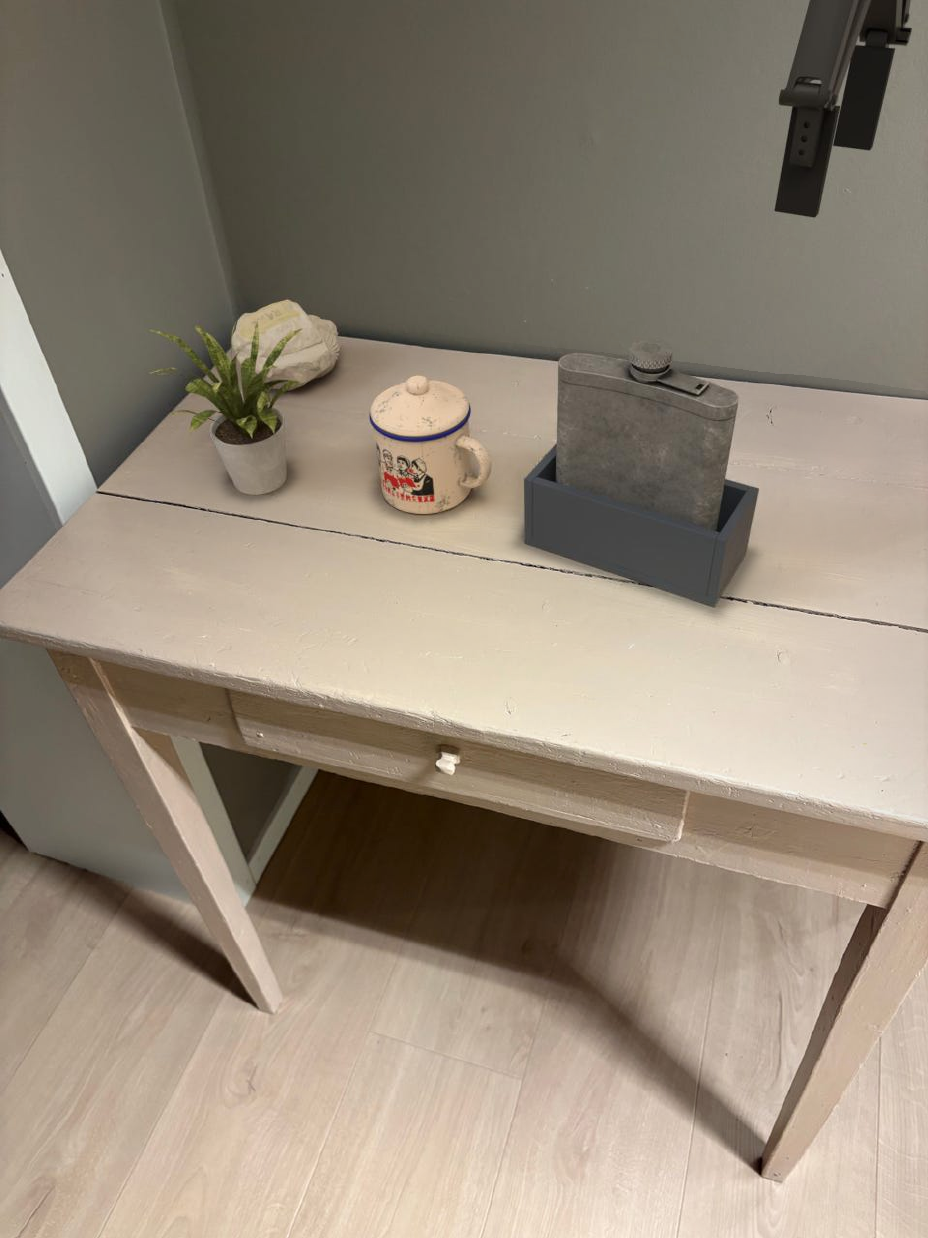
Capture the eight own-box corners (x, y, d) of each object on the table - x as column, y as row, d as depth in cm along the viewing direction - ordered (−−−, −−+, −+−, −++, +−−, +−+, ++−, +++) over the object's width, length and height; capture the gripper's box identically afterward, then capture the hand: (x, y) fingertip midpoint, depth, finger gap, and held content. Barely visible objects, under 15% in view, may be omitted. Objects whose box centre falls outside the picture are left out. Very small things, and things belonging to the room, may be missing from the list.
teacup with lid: (360, 497, 91) (343, 389, 83) (419, 450, 96) (408, 344, 88) (461, 540, 86) (454, 429, 78) (518, 489, 91) (517, 379, 83)
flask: (567, 503, 87) (573, 318, 75) (719, 550, 82) (753, 359, 69) (549, 526, 85) (552, 339, 73) (703, 576, 79) (735, 382, 67)
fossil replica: (362, 361, 110) (288, 355, 114) (349, 289, 105) (273, 285, 109) (307, 407, 102) (230, 399, 106) (291, 331, 97) (211, 325, 100)
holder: (746, 554, 83) (759, 488, 78) (714, 607, 78) (726, 541, 73) (563, 497, 90) (564, 433, 85) (524, 543, 85) (523, 478, 80)
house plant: (147, 514, 91) (92, 358, 80) (212, 434, 100) (171, 284, 89) (285, 534, 88) (248, 374, 76) (339, 449, 97) (313, 296, 86)
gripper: (893, -240, 62) (824, 117, 76) (766, -199, 47) (710, 234, 61) (1020, -244, 59) (922, 129, 73) (928, -201, 44) (828, 255, 58)
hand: (825, 178), depth 67 cm, fingers open, 13 cm apart
